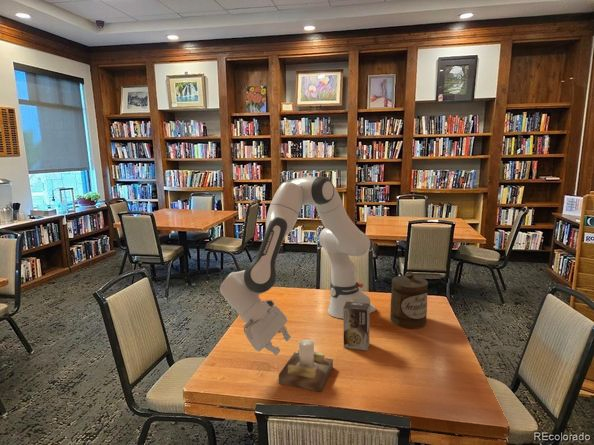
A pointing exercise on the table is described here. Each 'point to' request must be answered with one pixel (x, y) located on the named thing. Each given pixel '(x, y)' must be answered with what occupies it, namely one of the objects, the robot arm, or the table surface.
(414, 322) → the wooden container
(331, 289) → the robot arm
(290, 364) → the display plinth
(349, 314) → the coffee box
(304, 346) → the white rounded cylinder
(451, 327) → the table surface
